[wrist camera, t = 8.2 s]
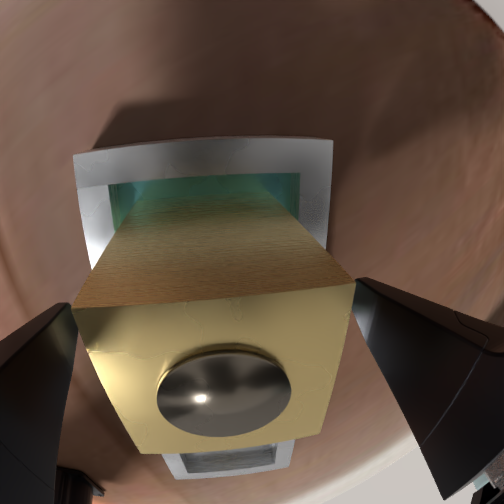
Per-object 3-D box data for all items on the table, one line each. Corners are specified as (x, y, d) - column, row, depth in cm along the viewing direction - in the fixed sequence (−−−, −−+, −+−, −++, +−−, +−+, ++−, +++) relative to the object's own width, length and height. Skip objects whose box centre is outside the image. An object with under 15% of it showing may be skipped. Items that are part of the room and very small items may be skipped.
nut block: (266, 302, 14) (321, 438, 7) (154, 312, 13) (140, 459, 6) (268, 191, 11) (360, 288, 5) (136, 201, 11) (67, 315, 4)
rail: (282, 447, 21) (288, 466, 19) (174, 459, 20) (175, 479, 18) (312, 136, 12) (333, 140, 10) (91, 149, 10) (72, 154, 9)
